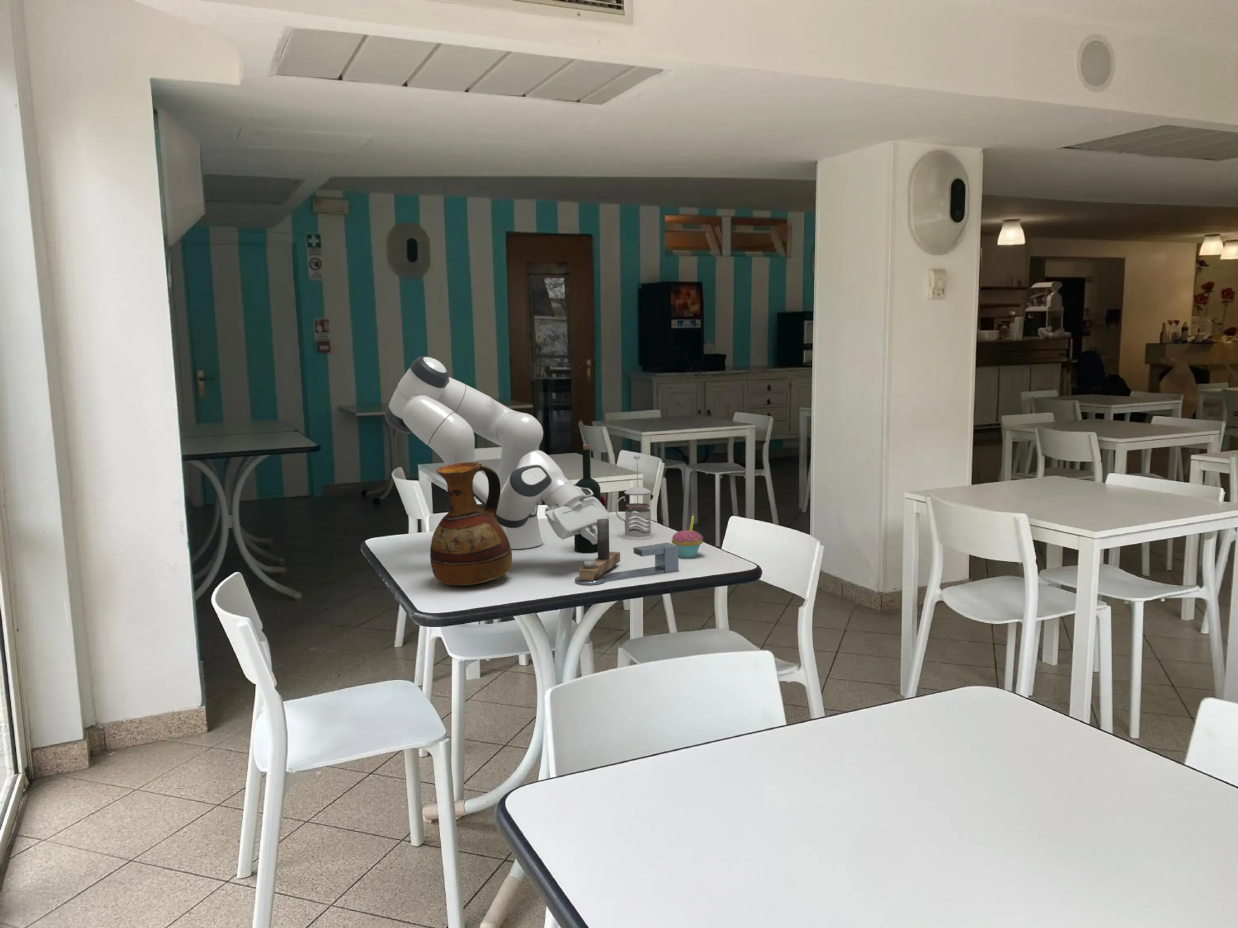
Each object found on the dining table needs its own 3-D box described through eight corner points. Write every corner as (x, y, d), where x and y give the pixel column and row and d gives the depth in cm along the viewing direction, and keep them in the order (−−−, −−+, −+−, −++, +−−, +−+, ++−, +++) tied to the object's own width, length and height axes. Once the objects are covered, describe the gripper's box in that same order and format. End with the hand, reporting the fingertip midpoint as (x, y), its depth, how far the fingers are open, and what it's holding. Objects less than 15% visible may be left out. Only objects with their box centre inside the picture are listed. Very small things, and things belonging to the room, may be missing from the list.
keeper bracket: (583, 586, 224) (582, 560, 223) (569, 580, 231) (569, 554, 230) (681, 571, 237) (681, 546, 236) (665, 565, 244) (665, 541, 243)
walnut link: (595, 580, 226) (594, 530, 224) (576, 579, 227) (575, 529, 226) (622, 561, 245) (622, 514, 244) (605, 560, 247) (604, 513, 245)
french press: (654, 540, 276) (653, 456, 273) (615, 540, 276) (614, 457, 273) (654, 533, 286) (653, 452, 282) (616, 533, 286) (615, 453, 283)
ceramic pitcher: (416, 581, 232) (410, 462, 228) (481, 567, 246) (477, 454, 242) (461, 596, 218) (456, 469, 214) (528, 579, 232) (525, 460, 228)
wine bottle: (612, 551, 261) (610, 445, 258) (576, 553, 259) (574, 447, 256) (607, 545, 269) (605, 442, 265) (572, 547, 267) (570, 444, 263)
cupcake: (708, 554, 257) (708, 511, 255) (694, 560, 249) (694, 516, 248) (680, 551, 261) (680, 509, 259) (666, 557, 254) (665, 514, 252)
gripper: (548, 501, 233) (582, 543, 229) (593, 487, 250) (625, 526, 246) (535, 517, 236) (567, 558, 232) (580, 502, 253) (612, 541, 249)
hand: (598, 542), depth 239 cm, fingers closed, pressing on walnut link
